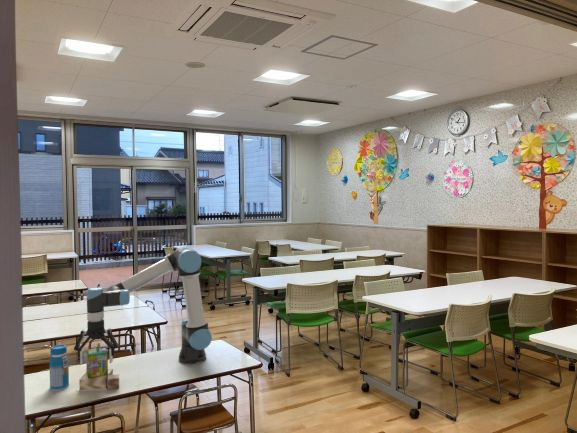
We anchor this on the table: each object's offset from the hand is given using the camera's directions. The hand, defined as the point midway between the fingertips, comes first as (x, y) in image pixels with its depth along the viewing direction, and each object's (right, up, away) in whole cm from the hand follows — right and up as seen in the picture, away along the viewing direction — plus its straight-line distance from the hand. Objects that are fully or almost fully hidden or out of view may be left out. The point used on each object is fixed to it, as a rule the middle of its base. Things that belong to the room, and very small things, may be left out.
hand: (96, 363), depth 215 cm
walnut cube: (+10, -10, -4) cm, 15 cm away
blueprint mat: (+3, -11, +3) cm, 11 cm away
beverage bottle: (-17, -11, -3) cm, 20 cm away
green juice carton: (0, -6, 0) cm, 6 cm away
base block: (0, -10, 0) cm, 10 cm away
